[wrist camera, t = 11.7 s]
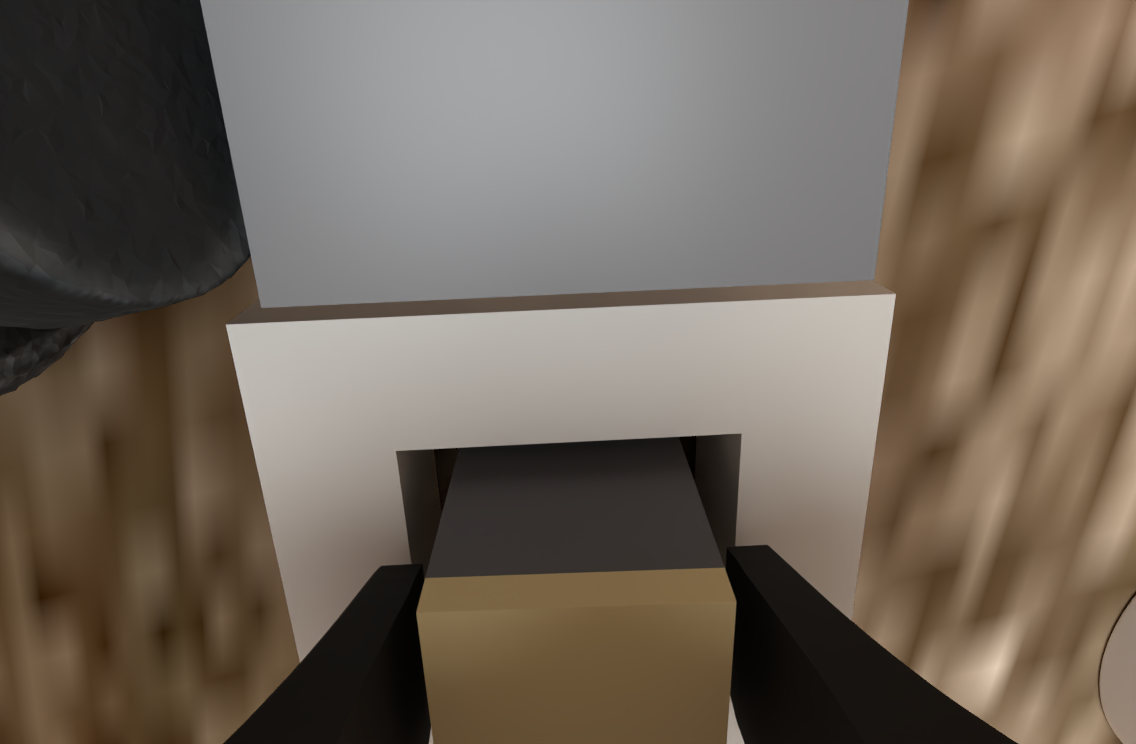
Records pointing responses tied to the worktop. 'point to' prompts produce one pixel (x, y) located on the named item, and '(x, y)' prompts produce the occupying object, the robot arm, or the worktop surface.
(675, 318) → the socket
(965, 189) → the worktop surface
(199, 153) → the pill bottle
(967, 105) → the worktop surface
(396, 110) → the grey square block
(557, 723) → the plug
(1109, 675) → the cup
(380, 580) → the robot arm
